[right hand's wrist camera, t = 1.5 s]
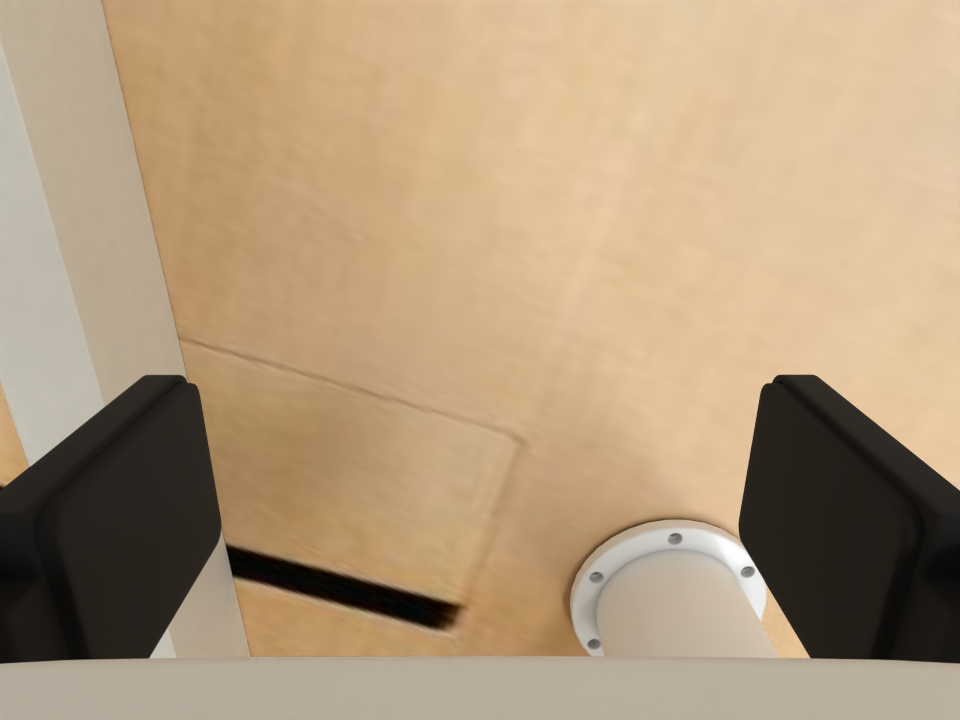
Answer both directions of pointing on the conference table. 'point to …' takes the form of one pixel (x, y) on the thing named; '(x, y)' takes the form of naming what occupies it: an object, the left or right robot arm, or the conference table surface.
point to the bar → (84, 264)
